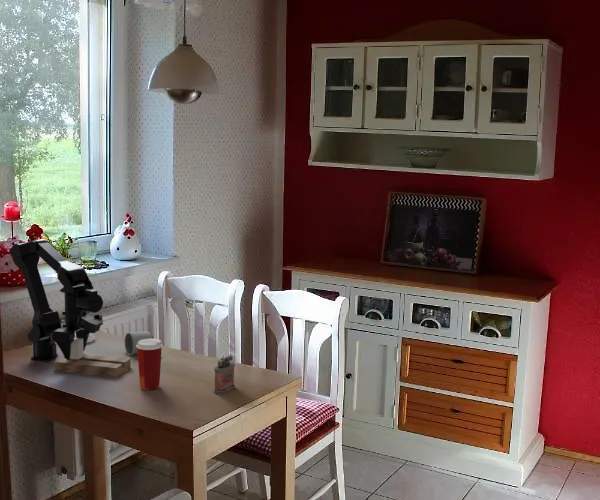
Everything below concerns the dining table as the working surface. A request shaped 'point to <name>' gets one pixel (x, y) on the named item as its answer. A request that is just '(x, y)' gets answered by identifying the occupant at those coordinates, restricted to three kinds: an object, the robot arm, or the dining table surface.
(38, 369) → the dining table surface
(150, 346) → the paper cup
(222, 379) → the lighter
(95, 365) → the fader track
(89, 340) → the white bowl
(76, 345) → the fader tab
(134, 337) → the ceramic mug
